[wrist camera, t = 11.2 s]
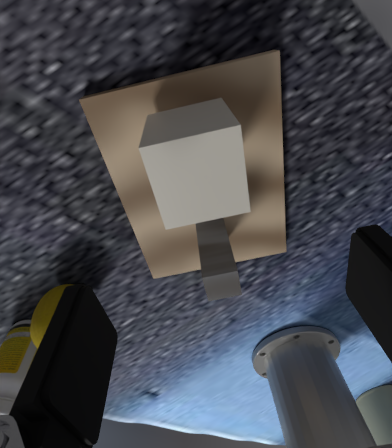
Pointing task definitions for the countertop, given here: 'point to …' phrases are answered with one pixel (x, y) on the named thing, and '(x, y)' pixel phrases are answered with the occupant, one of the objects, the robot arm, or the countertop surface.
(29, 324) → the supplement bottle
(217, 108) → the white rectangular block
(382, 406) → the can
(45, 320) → the lemon
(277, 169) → the stand
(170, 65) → the countertop surface
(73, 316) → the robot arm
